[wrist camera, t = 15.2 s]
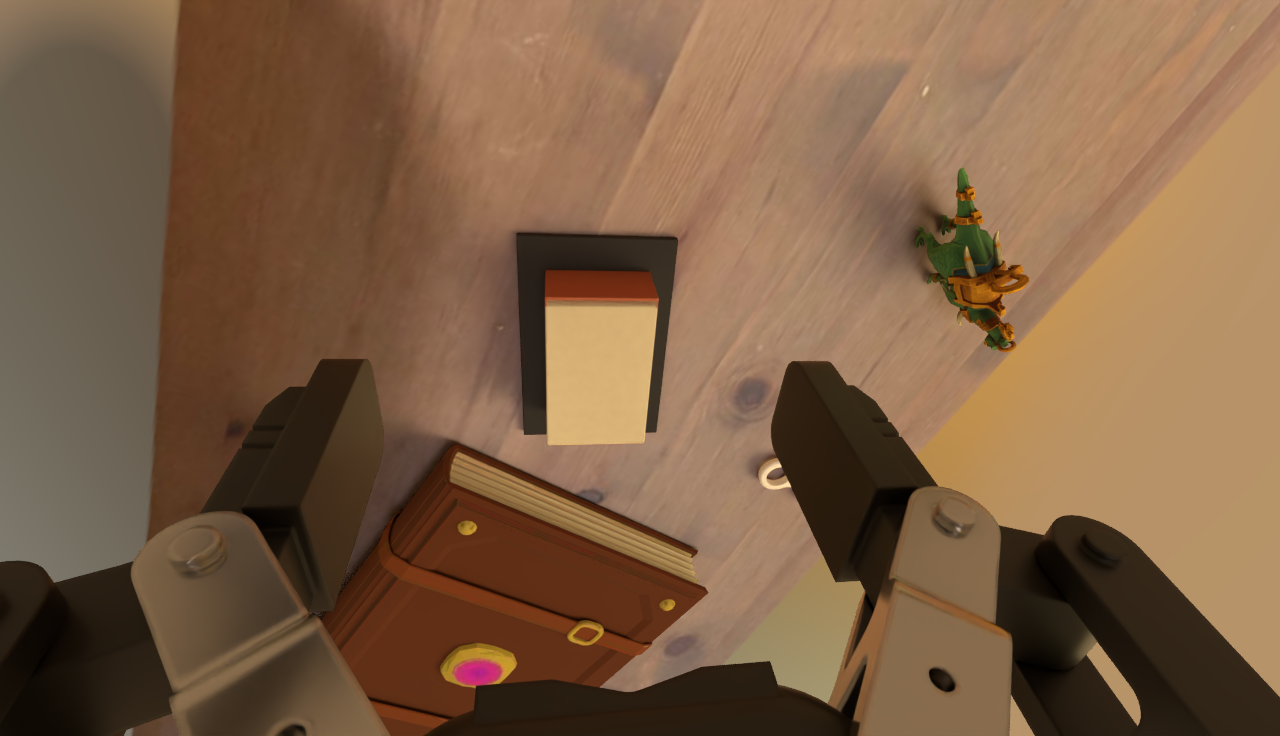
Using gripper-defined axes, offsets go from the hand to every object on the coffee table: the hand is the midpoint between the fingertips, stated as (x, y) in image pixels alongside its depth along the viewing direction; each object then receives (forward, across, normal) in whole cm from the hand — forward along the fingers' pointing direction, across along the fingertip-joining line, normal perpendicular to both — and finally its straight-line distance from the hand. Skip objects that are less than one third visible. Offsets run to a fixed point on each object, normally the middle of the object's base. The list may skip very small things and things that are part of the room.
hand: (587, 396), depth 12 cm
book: (+22, +6, +40) cm, 46 cm away
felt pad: (+22, -2, +13) cm, 26 cm away
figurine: (+22, -22, +5) cm, 32 cm away
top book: (+22, -2, +13) cm, 26 cm away
